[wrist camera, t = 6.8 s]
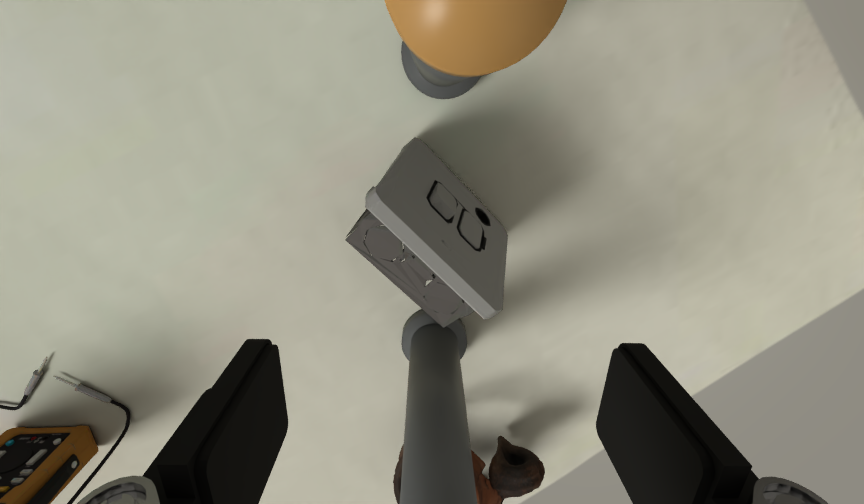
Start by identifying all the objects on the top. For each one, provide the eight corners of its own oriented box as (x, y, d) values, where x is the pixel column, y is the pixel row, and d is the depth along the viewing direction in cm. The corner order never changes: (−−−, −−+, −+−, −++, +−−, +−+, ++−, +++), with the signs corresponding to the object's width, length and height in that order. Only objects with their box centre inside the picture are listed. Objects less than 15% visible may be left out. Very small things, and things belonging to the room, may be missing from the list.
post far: (402, 306, 31) (372, 557, 14) (467, 307, 31) (514, 558, 14) (402, 360, 33) (375, 640, 16) (463, 361, 33) (501, 640, 16)
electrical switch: (508, 230, 29) (529, 298, 20) (455, 273, 30) (454, 352, 22) (416, 132, 26) (396, 164, 18) (364, 185, 28) (323, 236, 20)
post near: (402, 6, 24) (340, -213, 7) (487, 9, 24) (631, -201, 7) (402, 97, 25) (353, 101, 9) (481, 100, 26) (583, 107, 9)
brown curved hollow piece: (443, 497, 39) (404, 559, 32) (413, 402, 40) (368, 440, 33) (565, 484, 34) (553, 554, 27) (528, 377, 35) (506, 415, 28)
